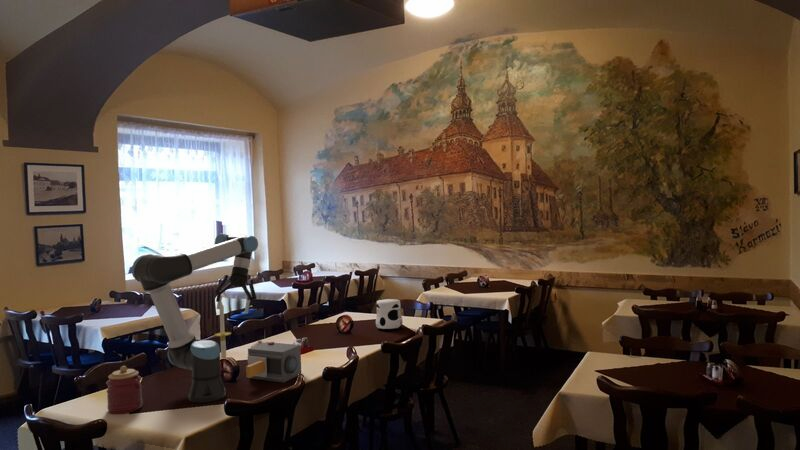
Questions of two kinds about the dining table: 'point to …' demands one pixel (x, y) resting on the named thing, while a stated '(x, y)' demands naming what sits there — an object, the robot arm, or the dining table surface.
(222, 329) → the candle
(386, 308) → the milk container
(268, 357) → the camera body
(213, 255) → the robot arm
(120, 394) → the canister
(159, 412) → the dining table surface
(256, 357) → the side door
